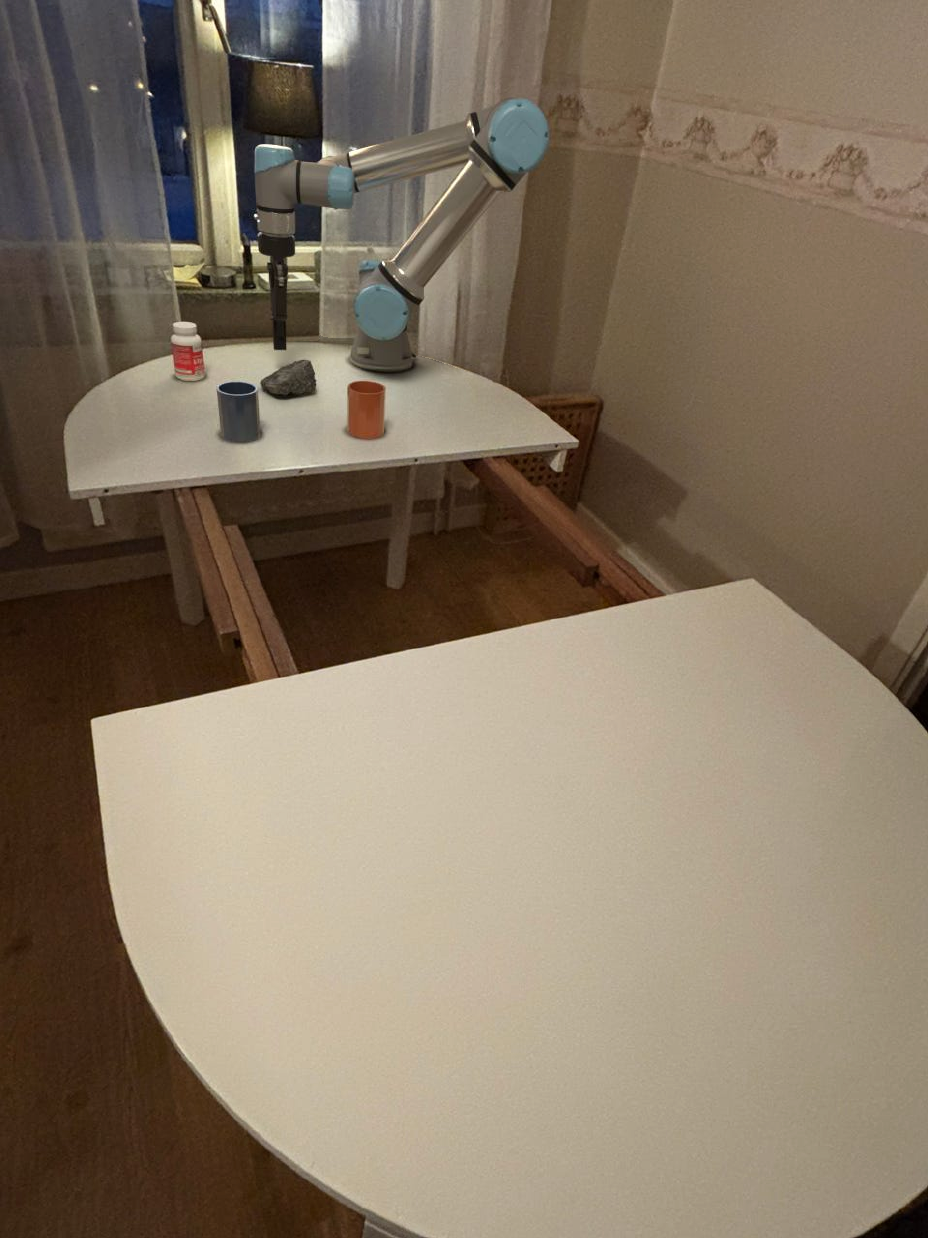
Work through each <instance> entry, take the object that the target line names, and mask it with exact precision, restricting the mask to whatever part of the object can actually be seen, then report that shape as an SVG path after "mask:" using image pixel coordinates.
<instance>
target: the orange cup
mask: <svg viewBox="0 0 928 1238" xmlns="http://www.w3.org/2000/svg"><path fill="white" fill-rule="evenodd" d="M346 389H347V391H346V392H347V394H346V395H347V396H346V397H347V398H346V431H347V433H348V435H350V436H352V437H354V438H358V439H363V440H372V439H378V438H380V437H383V435H384V431H385V417H386V393H387V391H386V386H385V385H383V384H382V383H379V382H377V381H376V382H375V381H373V380H372V381H371V380H357V381H352V382H349V383H348V384H347V388H346Z"/></svg>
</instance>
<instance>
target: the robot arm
mask: <svg viewBox="0 0 928 1238" xmlns="http://www.w3.org/2000/svg"><path fill="white" fill-rule="evenodd" d="M549 140H550V130H549V125H548V121H547V118H546V117H545V114H544V113H543V112H542V110H541V108H540V107H538V106H537V104H535V103H534V102H533V101H531V100H529V99H527V98H523V97H522V98H521V97H520V98H518V97H508V98H504V99H503V100H500V101H498V102H496V103H494V104H492V105H490V106H487V107H485V108H483V109H480V110H476V111H474V112H469V113H468V114H467V116H465V118H464V120H462V121H459V122H455V123H452V124H447V125H444V126H440V127H437V128H433V129H430V130H425V131H422V132H418V133H415V134H414V133H413V134H411V135H407V136H403V137H399V138H396V139H392V140H389V141H385V142H381V143H377V144H373V145H370V146H367V147H362V148H359V149H355V150H352V151H349V152H344V153H341V154H337V155H328V156H325V157H322V158H321V159H320V160H319V161H317V162H310V161H302V160H298V159H295V156H294V150H293V149H292V148H291V147H288V146H282V145H277V144H267V143H265V144H258V145H257V146H256V147H255V150H254V170H253V173H254V183H255V184H254V185H255V201H256V212H257V213H254V214H253V219H255V220H256V221H257V230H258V231H259V232H258V233H257V249H258V252H259V253H260V255H263V256H266V257H269V261H267V262H266V269H267V271H268V272H267V273H268V283H269V294H270V311H271V315H272V316H270V317H269V318H270V321H272V341H273V342H272V343H273V345H272V346H273V349H274V351H287V320H288V281H289V278H288V275H289V265H287V262H285V259H286V258H292V257H295V255H296V237H295V236H294V234H295V233H296V213H295V212H296V211H295V204H298V205H307V206H314V207H321V208H322V207H323V208H328V209H333V210H336V211H337V210H350V209H353V206H354V201H355V194H357V193H361V192H364V191H368V190H371V189H375V188H379V187H384V186H387V185H392V184H395V183H399V182H403V181H406V180H410V179H414V178H417V177H418V178H419V177H422V176H425V175H430V174H435V173H438V172H441V171H445V170H448V169H452V168H457V167H460V166H463V167H462V168H460V170H459V172H458V173H457V174H456V176H455V177H454V178H453V180H451V182H450V183H449V185H448V186H447V187H446V189H445V190H444V191H443V193H442V194H441V195H440V197H439V198H438V199H437V200H436V202H435V203H434V204H433V206H432V207H431V208H430V210H428V212H427V213H426V215H425V216H424V218H423V219H422V220H421V222H419V224H418V225H417V227H416V228H415V229H414V230H413V232H412V233H411V234H410V236H409V237H408V238H407V239H406V241H405V242H404V243H403V245H402V246H401V248H400V249H399V250H398V251H397V253H396V254H395V256H393V257H391V258H383V259H382V260H380V259H379V260H378V259H363V260H362V261H361V262H360V264H359V270H358V276H359V278H358V279H359V280H358V281H359V282H358V290H357V293H356V295H355V297H354V300H353V314H354V318H355V321H356V324H357V327H358V328H357V331H356V334H355V337H354V340H353V342H352V346H351V349H350V353H349V354H350V358H349V359H350V363H351V364H353V366H355V367H357V368H361V369H364V370H367V371H372V372H379V373H397V372H405V371H407V370H408V369H409V370H410V368H411V367H412V366H413V361H414V360H413V359H416V358H417V355H416V354H415V353H413V352H412V348H411V344H410V341H409V336H408V324H409V323H408V322H409V320H410V319H409V318H411V316H412V315H413V313H414V312H415V311H416V310H417V309H418V307H419V306H420V305H421V303H422V302H423V301H424V299H425V287H426V286H427V285H428V284H429V282H430V281H431V279H432V278H433V277H434V276H435V275H436V273H437V272H438V271H439V270H440V268H441V267H442V266H443V265H444V264H445V262H446V261H447V260H448V258H449V257H450V256H451V255H452V254H453V252H454V251H455V250H456V248H457V247H458V246H459V245H460V243H461V242H463V239H465V237H466V236H467V235H468V233H469V232H470V231H471V230H472V228H473V227H475V225H476V223H477V222H478V221H479V220H480V218H481V217H482V216H483V215H484V213H485V212H486V211H487V210H488V208H490V206H491V205H492V204H493V202H494V201H495V200H496V199H497V197H498V196H499V195H500V194H502V193H511V192H512V191H513V190H514V188H516V186H517V185H518V184H519V183H520V182H521V180H522V179H523V178H524V176H525V175H526V174H527V173H530V171H533V170H534V169H535V168H536V167H537V166H538V165H539V164H540V163H541V161H542V160H543V158H544V156H545V155H546V153H547V150H548V146H549Z"/></svg>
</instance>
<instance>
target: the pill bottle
mask: <svg viewBox="0 0 928 1238" xmlns="http://www.w3.org/2000/svg"><path fill="white" fill-rule="evenodd" d="M172 330H173V332H174V334H172V335H171V337H170V343H171V344H170V345H171V351H172V361H173V369H174V375H175V377H176V378H177V379H178V380H181V381H185V382H186V381H187V382H196V381H201V380H203V379H204V378H205V377H206V372H205V362H204V351H203V343H202V337H201V336H200V335H198V334H197V332H198V327H197V323H194V322H190V321H177V322H174V323H172Z"/></svg>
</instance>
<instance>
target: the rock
mask: <svg viewBox="0 0 928 1238" xmlns="http://www.w3.org/2000/svg"><path fill="white" fill-rule="evenodd" d="M260 387H261V388H262V389H264V390H268V391H269V392H270V393H271V394H275V395H276V394H277V395H280V394H281V395H283V396H287V395H289V394H290V393H292V394H294V395H300V394H303V393H309V392H315V391H316V388H317V379H316V372H315V369H314V367H313V364H312V361H311V360H309V359H300V360H294V361H293V362H292V363H288V364H286V365H284V366H282V367H280V368H278V369H277V370H275V371H273V372H272V373H271V374H269V375H268V376H265V377H264V378H262V379H261V380H260Z"/></svg>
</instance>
